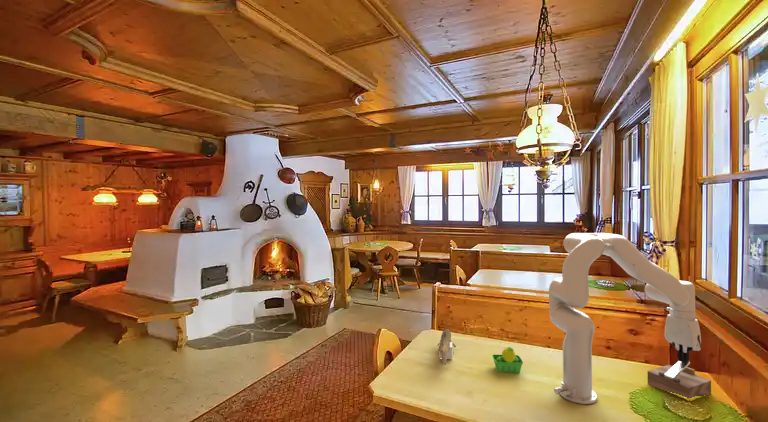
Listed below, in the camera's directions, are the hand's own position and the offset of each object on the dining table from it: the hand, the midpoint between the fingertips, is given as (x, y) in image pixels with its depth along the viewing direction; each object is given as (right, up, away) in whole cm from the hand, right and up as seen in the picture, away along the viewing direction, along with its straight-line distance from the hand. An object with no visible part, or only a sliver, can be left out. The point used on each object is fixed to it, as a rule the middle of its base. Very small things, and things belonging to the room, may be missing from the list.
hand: (683, 361), depth 136 cm
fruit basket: (-61, -12, +17) cm, 65 cm away
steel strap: (-3, -3, -1) cm, 5 cm away
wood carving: (-86, -12, +30) cm, 91 cm away
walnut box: (-3, -10, -1) cm, 10 cm away
